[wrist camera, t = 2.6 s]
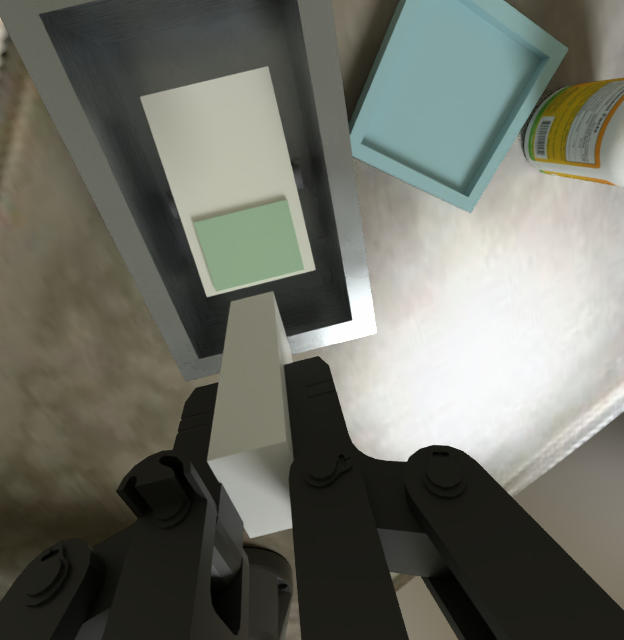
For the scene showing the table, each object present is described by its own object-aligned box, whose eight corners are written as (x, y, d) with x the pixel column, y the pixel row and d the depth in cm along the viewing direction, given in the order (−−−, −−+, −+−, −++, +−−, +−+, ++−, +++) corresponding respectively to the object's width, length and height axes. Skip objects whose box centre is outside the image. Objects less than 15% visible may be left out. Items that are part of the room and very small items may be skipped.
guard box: (343, 276, 27) (376, 333, 20) (204, 311, 27) (185, 381, 20) (293, -14, 19) (317, -105, 11) (89, 34, 18) (-22, -27, 11)
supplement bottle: (609, 127, 24) (795, 128, 16) (544, 189, 26) (682, 220, 18) (575, 63, 22) (770, 26, 14) (507, 135, 24) (644, 141, 15)
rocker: (319, 264, 21) (323, 268, 19) (206, 292, 20) (198, 299, 19) (277, 78, 18) (276, 62, 16) (145, 110, 18) (129, 97, 16)
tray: (459, 208, 26) (470, 213, 24) (338, 149, 23) (343, 151, 21) (549, 53, 22) (568, 48, 20) (416, -42, 19) (429, -56, 17)
